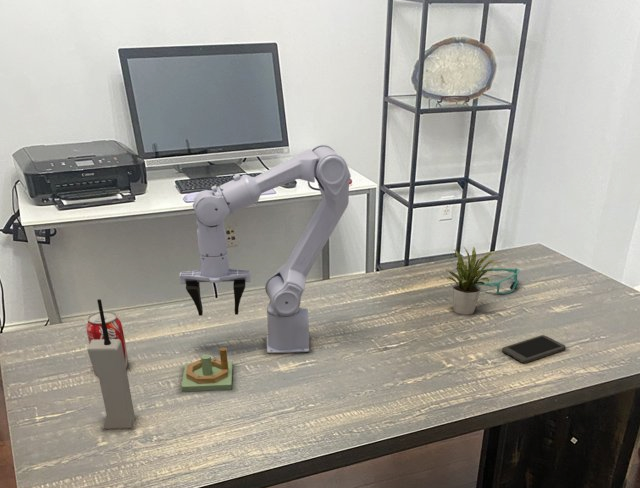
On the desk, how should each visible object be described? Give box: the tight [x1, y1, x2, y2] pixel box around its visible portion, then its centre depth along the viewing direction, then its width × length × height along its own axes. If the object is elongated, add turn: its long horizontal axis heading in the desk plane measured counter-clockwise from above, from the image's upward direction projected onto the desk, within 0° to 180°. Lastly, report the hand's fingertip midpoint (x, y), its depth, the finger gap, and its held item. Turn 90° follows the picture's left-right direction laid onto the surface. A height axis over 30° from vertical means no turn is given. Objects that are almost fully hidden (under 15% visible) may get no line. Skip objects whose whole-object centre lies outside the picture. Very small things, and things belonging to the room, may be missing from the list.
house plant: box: [444, 247, 500, 316], centre depth 170 cm, size 14×14×16 cm
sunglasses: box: [476, 267, 521, 295], centre depth 189 cm, size 14×15×5 cm
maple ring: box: [186, 347, 229, 384], centre depth 140 cm, size 8×8×6 cm
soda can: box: [85, 310, 129, 368], centre depth 142 cm, size 7×7×12 cm
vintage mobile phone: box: [86, 298, 136, 430], centre depth 120 cm, size 4×5×25 cm
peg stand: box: [180, 353, 234, 392], centre depth 141 cm, size 10×10×5 cm
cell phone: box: [501, 334, 566, 364], centre depth 156 cm, size 7×14×1 cm, turn 123°
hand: (218, 313), depth 147 cm, fingers open, 7 cm apart
